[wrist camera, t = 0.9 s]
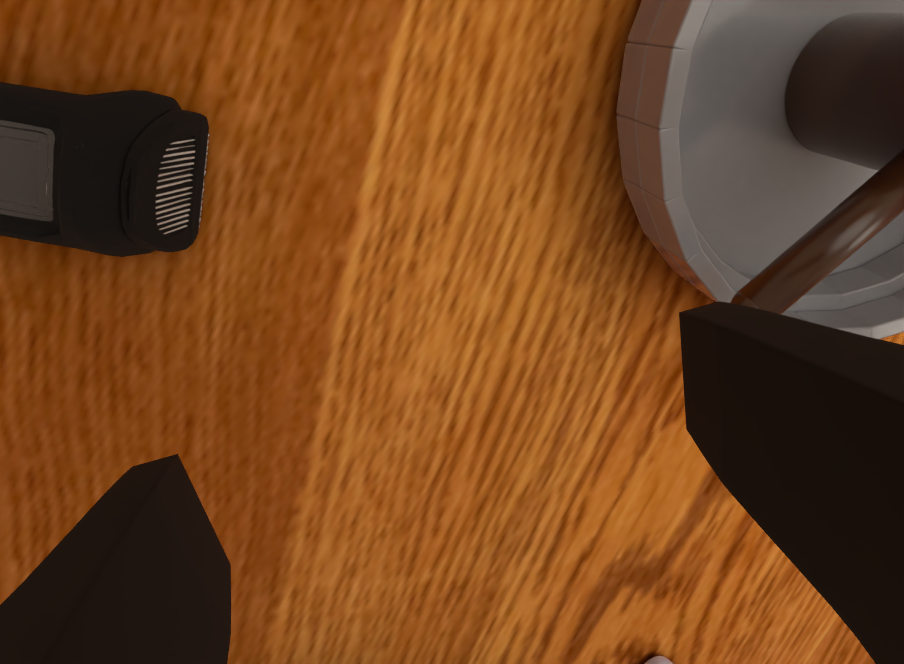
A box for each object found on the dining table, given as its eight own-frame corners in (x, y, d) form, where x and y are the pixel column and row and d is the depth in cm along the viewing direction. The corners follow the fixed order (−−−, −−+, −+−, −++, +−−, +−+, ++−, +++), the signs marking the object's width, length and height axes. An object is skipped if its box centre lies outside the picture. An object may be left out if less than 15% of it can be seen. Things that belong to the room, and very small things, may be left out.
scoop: (926, 89, 19) (1112, 114, 15) (683, 299, 21) (787, 381, 16) (873, -20, 18) (1065, -28, 13) (615, 216, 19) (709, 280, 15)
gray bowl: (1101, 93, 21) (1217, 106, 18) (757, 378, 23) (816, 427, 20) (947, -357, 15) (1081, -431, 13) (510, 73, 18) (547, 86, 15)
